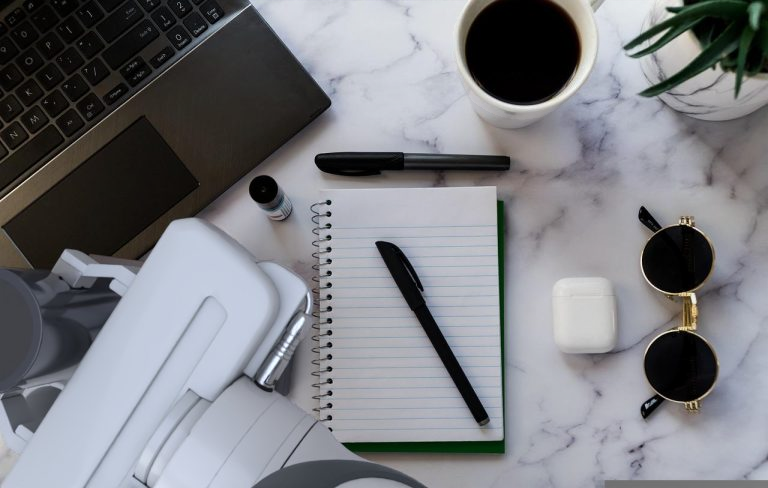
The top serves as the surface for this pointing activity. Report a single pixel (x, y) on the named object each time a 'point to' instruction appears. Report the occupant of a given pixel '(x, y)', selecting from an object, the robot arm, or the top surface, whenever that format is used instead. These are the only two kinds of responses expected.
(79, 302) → the grey cylinder
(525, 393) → the top surface
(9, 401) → the robot arm
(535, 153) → the top surface
